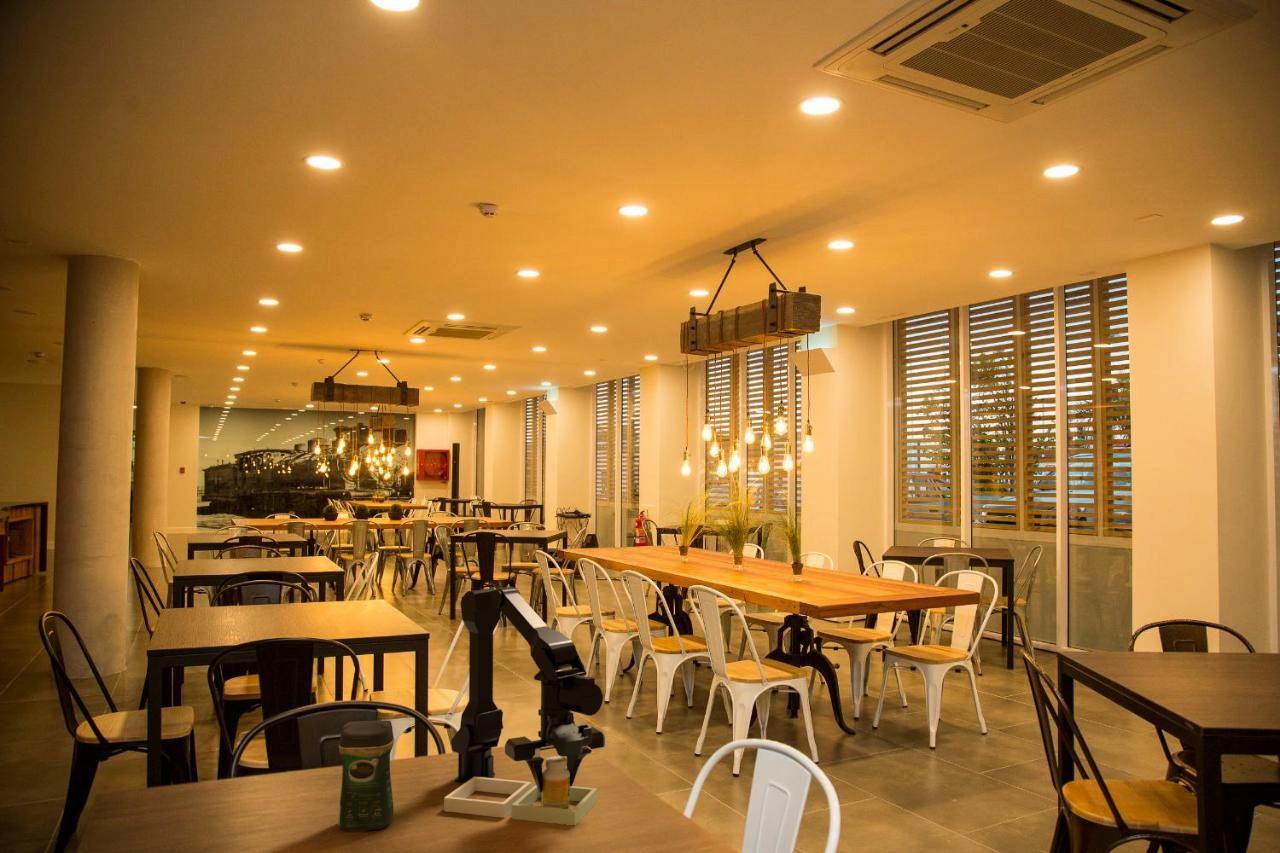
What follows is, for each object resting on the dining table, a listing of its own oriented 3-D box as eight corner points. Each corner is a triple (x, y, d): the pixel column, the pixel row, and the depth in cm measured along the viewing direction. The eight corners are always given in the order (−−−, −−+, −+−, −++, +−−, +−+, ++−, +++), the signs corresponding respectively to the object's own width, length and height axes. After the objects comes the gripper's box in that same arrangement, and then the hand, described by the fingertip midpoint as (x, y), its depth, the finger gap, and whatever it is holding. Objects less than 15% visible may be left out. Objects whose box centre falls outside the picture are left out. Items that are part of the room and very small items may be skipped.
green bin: (511, 818, 166) (511, 804, 167) (537, 795, 178) (537, 782, 179) (575, 825, 163) (575, 811, 163) (597, 801, 175) (597, 788, 175)
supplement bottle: (538, 807, 172) (539, 756, 173) (565, 804, 174) (565, 753, 175) (545, 816, 167) (546, 764, 168) (572, 813, 169) (573, 761, 170)
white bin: (444, 811, 170) (444, 797, 170) (474, 789, 182) (474, 776, 182) (504, 817, 167) (504, 804, 167) (531, 794, 179) (531, 782, 179)
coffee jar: (396, 815, 168) (398, 715, 169) (388, 831, 160) (389, 726, 161) (344, 817, 167) (345, 716, 169) (333, 833, 160) (335, 728, 161)
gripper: (525, 722, 160) (525, 811, 159) (618, 709, 169) (617, 793, 168) (504, 708, 170) (503, 792, 169) (592, 696, 179) (592, 776, 178)
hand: (555, 788), depth 171 cm, fingers open, 6 cm apart
